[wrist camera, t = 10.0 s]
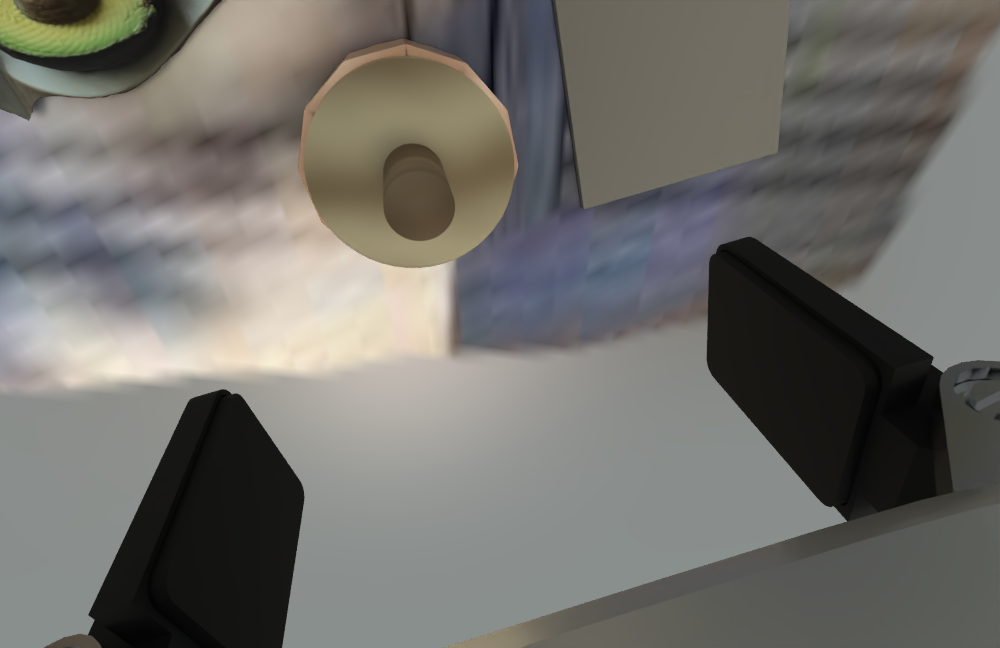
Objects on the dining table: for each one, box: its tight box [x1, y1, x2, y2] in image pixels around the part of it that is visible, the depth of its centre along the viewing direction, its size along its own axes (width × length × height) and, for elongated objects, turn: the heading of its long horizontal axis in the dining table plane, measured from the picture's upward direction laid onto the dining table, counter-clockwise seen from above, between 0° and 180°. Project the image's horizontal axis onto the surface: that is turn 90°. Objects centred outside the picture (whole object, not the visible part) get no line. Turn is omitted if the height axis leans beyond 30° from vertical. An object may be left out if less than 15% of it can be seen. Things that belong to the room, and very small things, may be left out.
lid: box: [304, 56, 515, 268], centre depth 24 cm, size 10×10×6 cm
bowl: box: [298, 38, 518, 229], centre depth 29 cm, size 11×11×5 cm
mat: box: [552, 0, 791, 209], centre depth 31 cm, size 14×14×1 cm
